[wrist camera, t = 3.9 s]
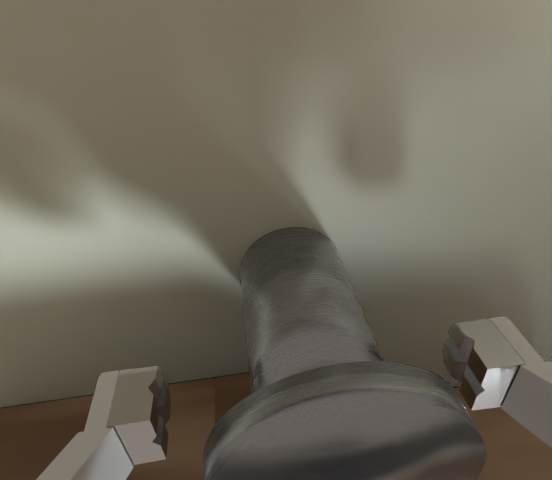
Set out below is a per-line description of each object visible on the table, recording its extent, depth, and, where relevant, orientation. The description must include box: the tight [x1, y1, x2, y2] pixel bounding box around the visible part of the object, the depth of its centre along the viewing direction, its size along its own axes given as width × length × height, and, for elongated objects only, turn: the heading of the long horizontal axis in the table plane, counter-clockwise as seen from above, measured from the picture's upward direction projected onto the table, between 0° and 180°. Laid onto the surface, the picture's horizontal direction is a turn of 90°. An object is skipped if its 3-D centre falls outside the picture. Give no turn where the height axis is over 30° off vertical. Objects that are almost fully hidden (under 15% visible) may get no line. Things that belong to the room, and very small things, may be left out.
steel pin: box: [202, 228, 487, 480], centre depth 12 cm, size 6×6×8 cm
